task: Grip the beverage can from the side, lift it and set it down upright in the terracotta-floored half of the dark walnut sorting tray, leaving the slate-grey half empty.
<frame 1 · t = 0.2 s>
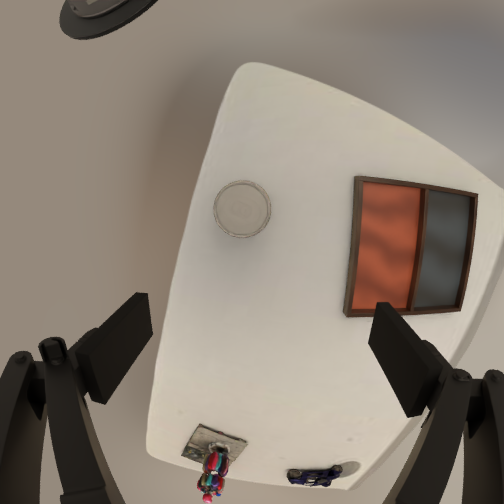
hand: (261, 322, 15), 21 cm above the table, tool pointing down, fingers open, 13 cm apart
statue: (213, 446, 45), on the table
beverage can: (249, 203, 35), on the table
sorting tray: (415, 249, 35), on the table
toy car: (313, 470, 46), on the table
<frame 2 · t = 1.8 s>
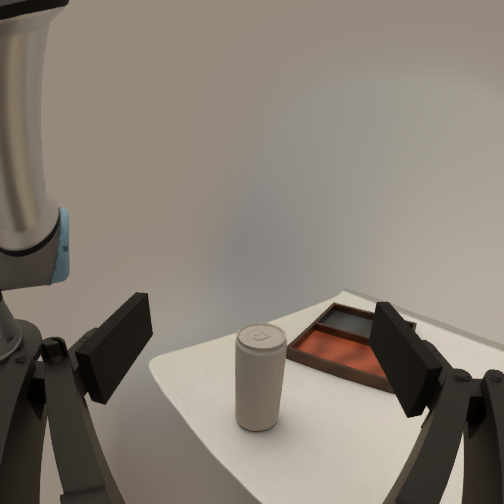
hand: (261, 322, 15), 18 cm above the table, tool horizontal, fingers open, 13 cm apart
beverage can: (256, 419, 29), on the table
sorting tray: (359, 344, 44), on the table
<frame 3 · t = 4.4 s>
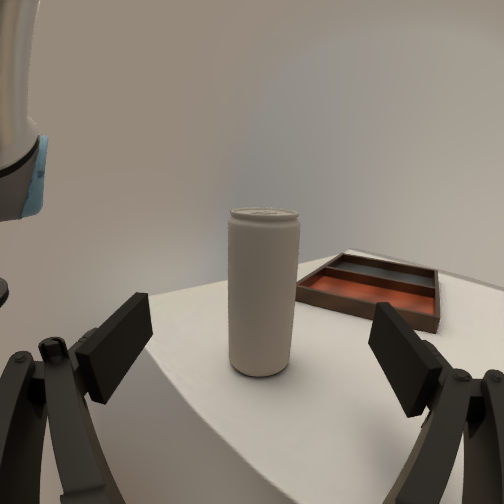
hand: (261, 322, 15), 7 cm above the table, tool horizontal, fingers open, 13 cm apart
beverage can: (258, 364, 22), on the table
sorting tray: (377, 289, 38), on the table
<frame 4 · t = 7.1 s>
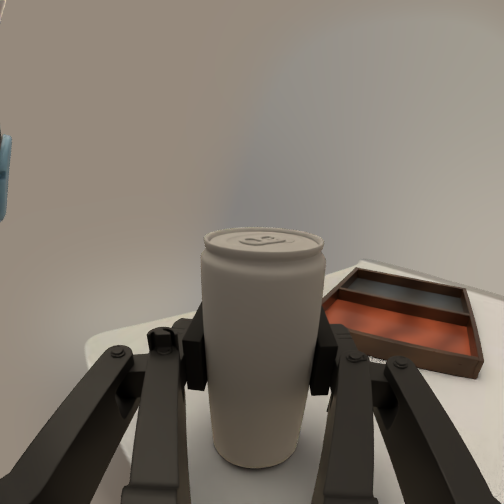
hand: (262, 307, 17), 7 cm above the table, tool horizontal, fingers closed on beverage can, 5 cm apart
beverage can: (255, 444, 14), on the table, touching gripper
sorting tray: (401, 316, 29), on the table
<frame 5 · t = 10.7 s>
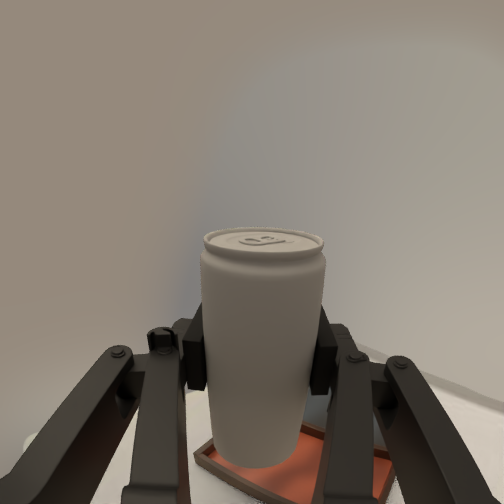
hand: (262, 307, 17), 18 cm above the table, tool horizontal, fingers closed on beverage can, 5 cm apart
beverage can: (254, 444, 14), point 11 cm above the table, touching gripper
sorting tray: (321, 440, 25), on the table
when the fingers open (7 cm above the table, at t = 14.8 s): beverage can stays where it is, resting on sorting tray.
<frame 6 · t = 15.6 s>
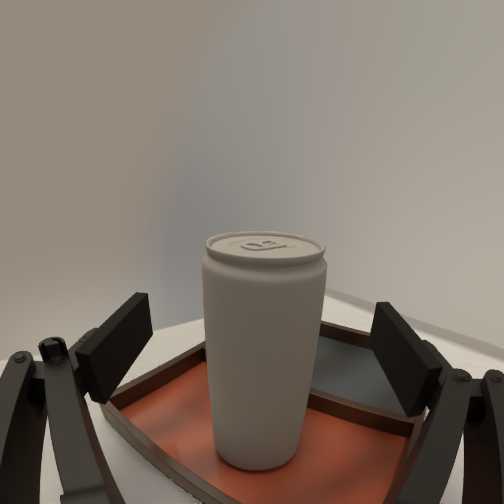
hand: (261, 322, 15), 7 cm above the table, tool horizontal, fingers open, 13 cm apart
beverage can: (255, 446, 14), resting on sorting tray
sorting tray: (295, 404, 18), on the table
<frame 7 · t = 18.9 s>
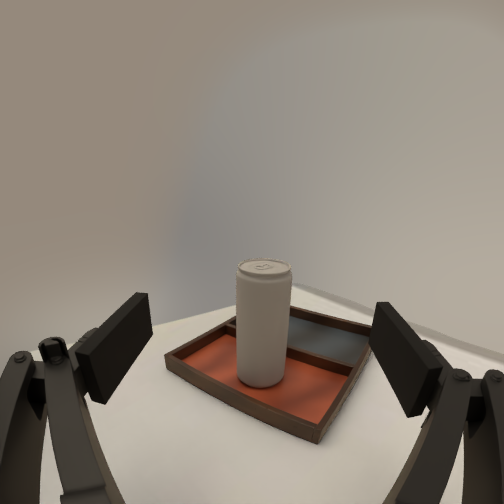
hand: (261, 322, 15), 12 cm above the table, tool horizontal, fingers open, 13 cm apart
beverage can: (260, 377, 28), resting on sorting tray
sorting tray: (283, 357, 32), on the table
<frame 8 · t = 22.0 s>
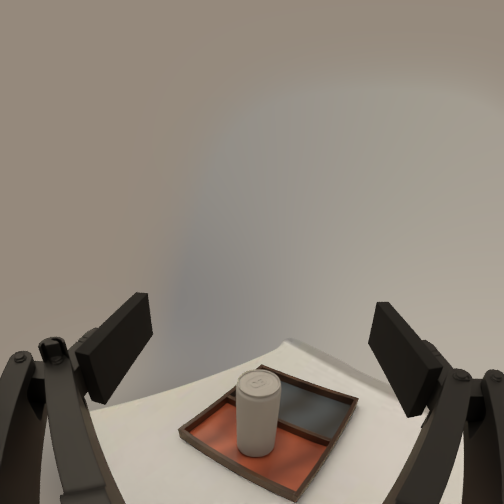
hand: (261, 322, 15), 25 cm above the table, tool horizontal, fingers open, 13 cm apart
beverage can: (255, 446, 31), resting on sorting tray
sorting tray: (275, 426, 35), on the table
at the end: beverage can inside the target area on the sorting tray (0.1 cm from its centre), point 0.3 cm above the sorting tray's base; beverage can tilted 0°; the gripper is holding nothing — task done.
